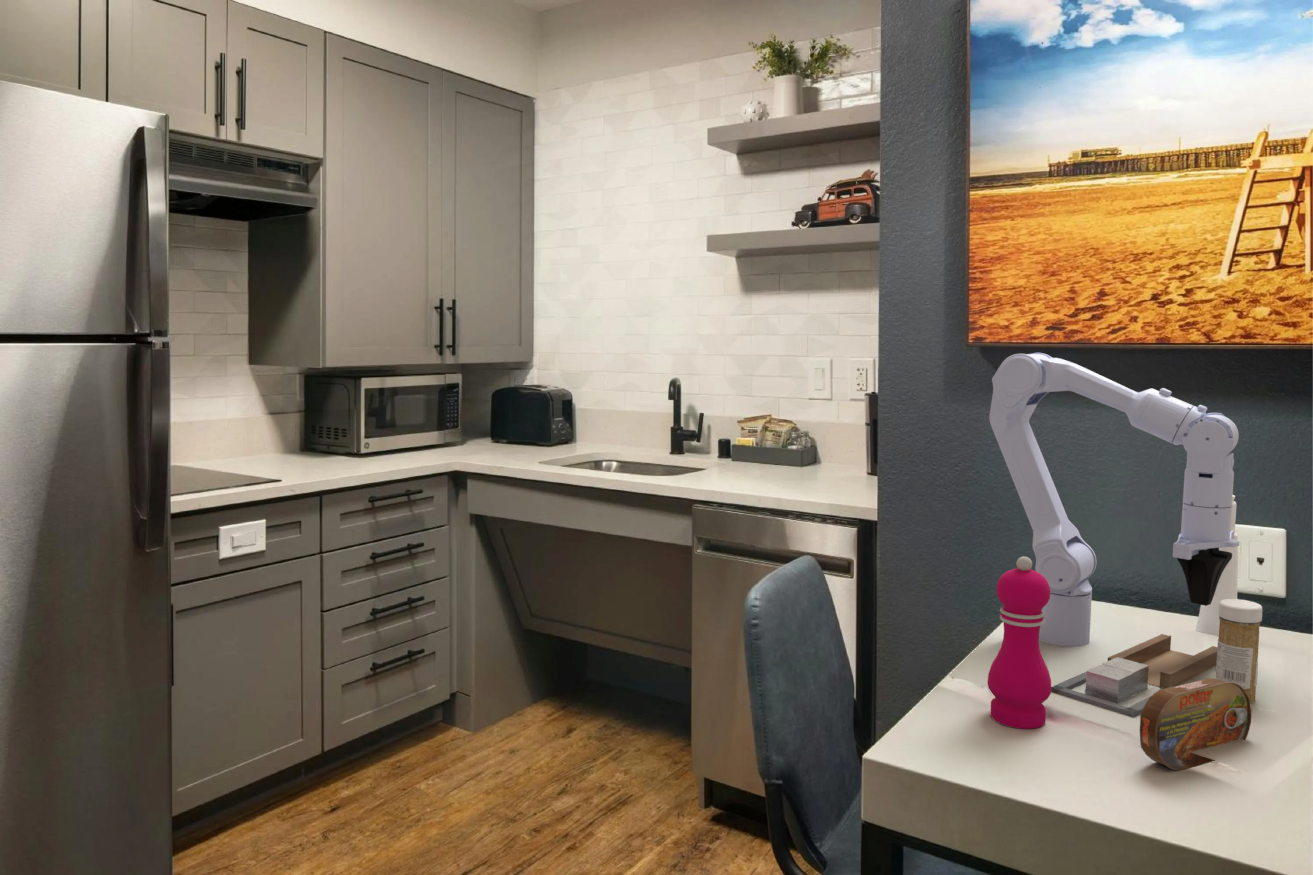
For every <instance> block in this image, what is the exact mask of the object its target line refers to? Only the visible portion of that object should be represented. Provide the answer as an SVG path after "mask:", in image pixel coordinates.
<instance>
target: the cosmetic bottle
mask: <svg viewBox="0 0 1313 875" xmlns="http://www.w3.org/2000/svg"><path fill="white" fill-rule="evenodd" d="M1234 500H1236V495H1234V494H1233V497H1232V511H1231V525H1230V530H1231V531H1234V540H1238V541H1239V538H1238V536H1239V535H1238V533H1235V532H1236V519H1237V517H1236V516H1237V502H1236V501H1234ZM1238 549H1239V546H1237V547H1220V548H1219V550H1220V551H1226V552H1230V553H1232V558H1231V560H1230V561H1229V563H1228V564H1227V565H1226V567H1225V569H1224V570H1223V572H1222V574H1221V577H1220V579H1219V582H1218V584H1217V587H1216V591H1215V594H1214V597H1213V599H1212V602H1211V604H1210V605H1207V606H1205V605H1200V607H1199V614H1198V617H1197V621H1196V625H1195V628H1194V629H1195V630H1194V631H1195V632H1197V633H1201V634H1206V635H1210V636H1214V637H1218V638H1219V625H1220V619H1219V614H1218V613H1219V603H1220V601H1221V600H1224V599H1238V569H1239V568H1238V564H1239V561H1238V558H1239V554H1238V553H1239V552H1238V551H1239V550H1238Z"/></svg>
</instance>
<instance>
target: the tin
mask: <svg viewBox="0 0 1313 875" xmlns="http://www.w3.org/2000/svg"><path fill="white" fill-rule="evenodd" d="M1150 696H1151V697H1150ZM1150 696H1149V697H1150V698H1149V699H1148V701H1147V702H1146V704H1145V706H1144V707H1143V710H1142V712H1141V714H1140V718H1139V719H1140V720H1139V721H1140V722H1139V740H1140V747H1141V749H1142V750H1143V752H1144V754H1145V755H1146V756H1147V757H1148V758H1149V759H1150V760H1151V761H1154V762H1156V763H1157V764H1161V765H1163V766H1166V767H1167V768H1168V769H1171V770H1173V771H1184V770H1188V769H1191V768H1195V767H1198V766H1201V765H1205V764H1209V763H1213V762H1215V761H1217V760H1215V759H1213V758H1209V757H1206V756H1203V755H1200V754H1197V753H1194V752H1197V751H1199V750H1200V751H1201V750H1204V749H1208V748H1212V747H1216V746H1219V745H1224V744H1227V743H1232V742H1235V741H1240V740H1241V741H1246V740H1247V737H1248V734H1249V732H1250V727H1251V723H1252V707H1251V703H1250V700H1249V697H1248V695H1247V693H1246V692H1245V690H1244V689H1243V688H1242V687H1241V686H1239V685H1238V684H1236V683H1232V682H1225V681H1222V680H1218V679H1216V678H1205V679H1201V680H1196V681H1192V682H1188V683H1183V684H1181V685H1179V686H1174V687H1170V688H1165V689H1164V688H1161V689H1160V690H1158V691H1155V693H1153V694H1152V695H1150Z"/></svg>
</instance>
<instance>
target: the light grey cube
mask: <svg viewBox="0 0 1313 875" xmlns="http://www.w3.org/2000/svg"><path fill="white" fill-rule="evenodd" d="M1086 671H1087V672H1086ZM1086 671H1085V672H1086V682H1085V692H1084V694H1087V695H1090V696H1093V697H1097V698H1100V699H1103V700H1107V701H1110V702H1113V703H1116V704H1121V703H1123V702H1125V701H1127V700H1129V699H1132V698H1133V697H1134V696H1133V685H1134V673H1133V672H1129V671H1125V670H1122V669H1118V668H1114V667H1111V666H1107V665H1103V664H1102V663H1101V664H1100V665H1097V666H1095V667H1092V668H1091V669H1088V670H1086Z"/></svg>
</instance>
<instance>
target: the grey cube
mask: <svg viewBox="0 0 1313 875" xmlns="http://www.w3.org/2000/svg"><path fill="white" fill-rule="evenodd" d="M1102 664H1103V665H1107V666H1111V667H1114V668H1118V669H1122V670H1125V671H1129V672H1133V673H1134V685H1133V697H1134V696H1136V695H1138V694H1139V693H1142V692H1143V691H1145V690H1146V691H1147V690H1148V685H1149V684H1148V671H1149V665H1145V664H1141V663H1137V662H1134V661H1130V660H1126V659H1123V658H1119V657H1116V658H1114V659H1112V660H1109V661H1108V660H1106V661H1105V662H1103V663H1101V665H1102Z"/></svg>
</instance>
